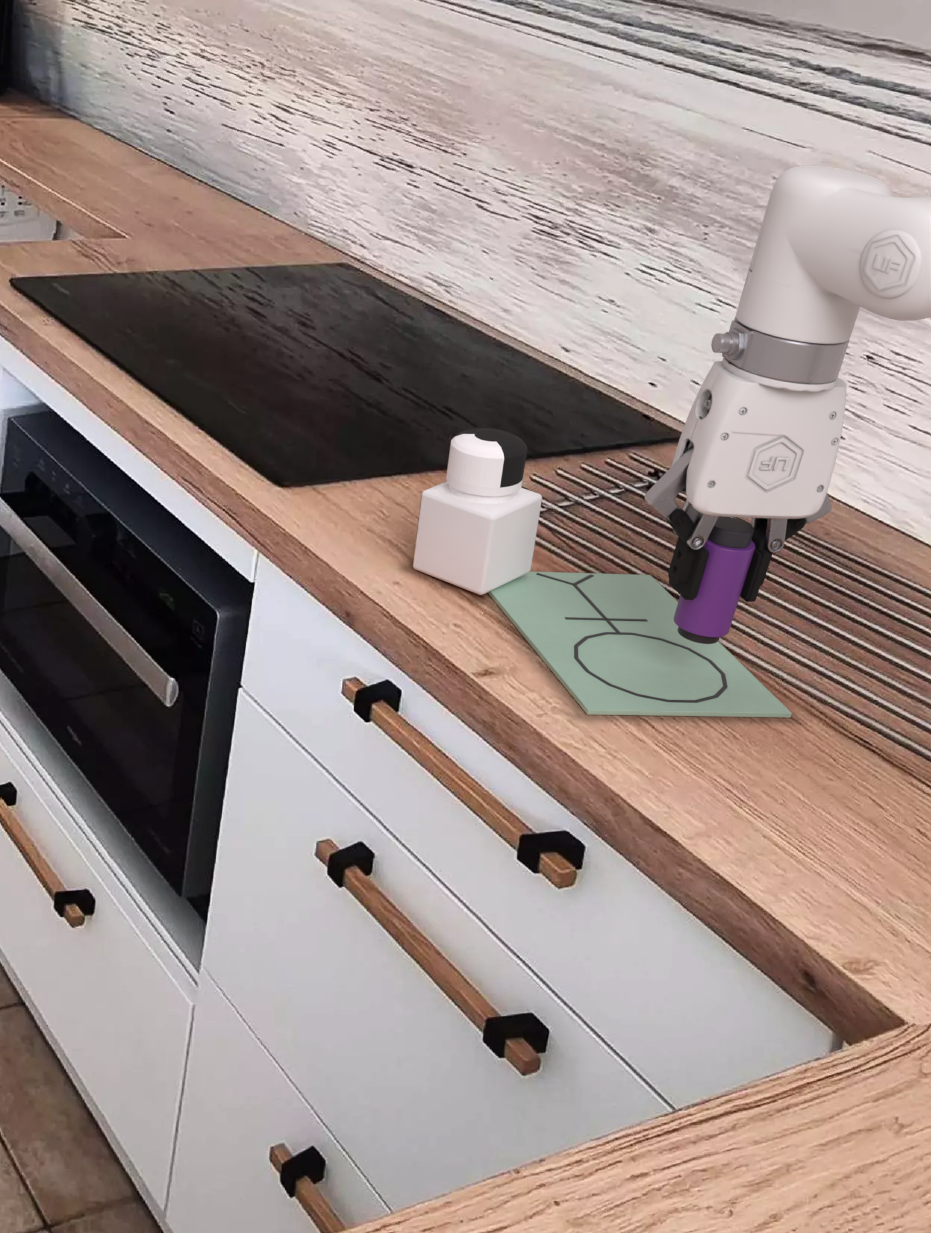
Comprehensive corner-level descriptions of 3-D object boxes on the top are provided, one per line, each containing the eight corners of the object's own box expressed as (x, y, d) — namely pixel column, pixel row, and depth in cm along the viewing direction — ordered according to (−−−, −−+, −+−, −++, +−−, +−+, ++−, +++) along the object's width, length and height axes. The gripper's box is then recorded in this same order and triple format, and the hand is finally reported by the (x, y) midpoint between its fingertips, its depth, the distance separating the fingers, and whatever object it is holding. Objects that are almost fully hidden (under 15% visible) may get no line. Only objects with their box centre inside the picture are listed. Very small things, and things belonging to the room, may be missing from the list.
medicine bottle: (461, 546, 152) (479, 414, 146) (531, 573, 147) (553, 438, 142) (410, 569, 148) (427, 434, 142) (481, 597, 143) (501, 459, 137)
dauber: (727, 631, 132) (761, 521, 128) (724, 652, 129) (759, 540, 125) (672, 618, 134) (704, 508, 129) (668, 638, 130) (701, 527, 126)
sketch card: (790, 717, 130) (792, 712, 129) (587, 714, 127) (588, 709, 127) (649, 578, 150) (650, 574, 150) (471, 574, 148) (472, 569, 148)
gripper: (696, 365, 116) (626, 613, 125) (925, 377, 119) (841, 619, 128) (646, 330, 123) (583, 568, 132) (865, 342, 126) (789, 574, 134)
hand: (711, 590), depth 130 cm, fingers closed on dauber, 4 cm apart
